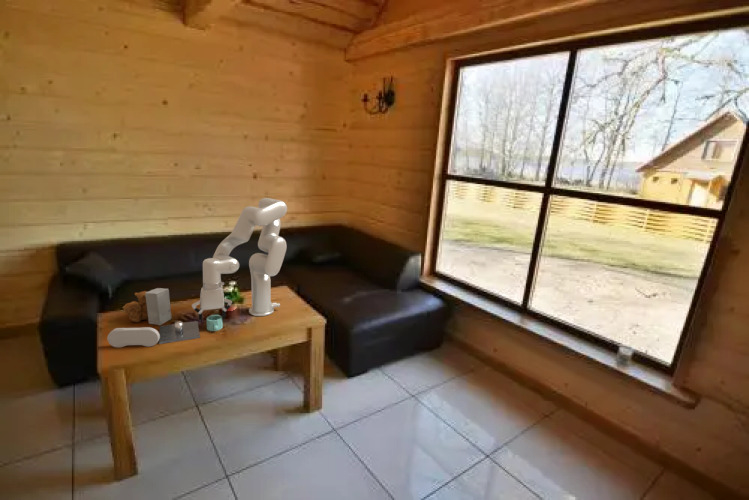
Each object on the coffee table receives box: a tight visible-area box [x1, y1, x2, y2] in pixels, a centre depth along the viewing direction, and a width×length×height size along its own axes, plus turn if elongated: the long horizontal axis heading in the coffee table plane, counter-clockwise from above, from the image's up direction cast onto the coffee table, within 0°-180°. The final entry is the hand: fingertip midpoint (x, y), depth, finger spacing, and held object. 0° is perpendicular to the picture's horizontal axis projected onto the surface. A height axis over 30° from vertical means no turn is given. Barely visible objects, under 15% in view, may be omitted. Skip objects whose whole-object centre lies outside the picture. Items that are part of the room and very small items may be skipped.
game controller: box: [106, 326, 160, 348], centre depth 161 cm, size 20×2×8 cm, turn 100°
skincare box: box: [145, 287, 172, 326], centre depth 182 cm, size 8×7×16 cm
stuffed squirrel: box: [122, 290, 148, 323], centre depth 184 cm, size 10×14×13 cm
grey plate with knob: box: [158, 320, 201, 345], centre depth 174 cm, size 16×16×5 cm
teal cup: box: [206, 314, 224, 332], centre depth 180 cm, size 7×9×5 cm
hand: (212, 319), depth 180 cm, fingers open, 9 cm apart
